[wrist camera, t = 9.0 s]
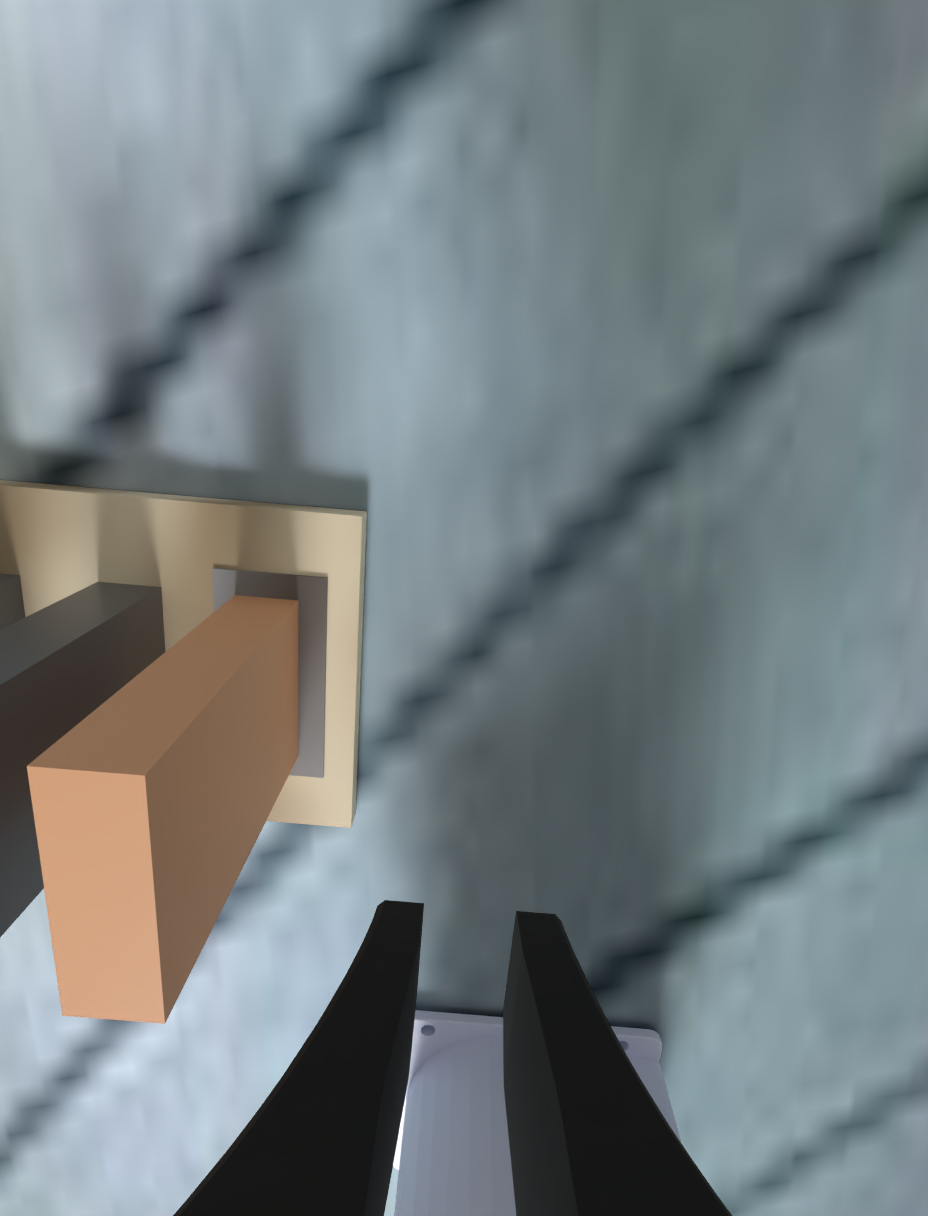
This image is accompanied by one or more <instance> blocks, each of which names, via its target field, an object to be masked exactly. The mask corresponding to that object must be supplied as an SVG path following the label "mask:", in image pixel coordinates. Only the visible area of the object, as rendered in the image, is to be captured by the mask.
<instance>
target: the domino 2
mask: <svg viewBox="0 0 928 1216" xmlns="http://www.w3.org/2000/svg"><path fill="white" fill-rule="evenodd" d="M297 758H298V600H288V599H275V598H263V597H251V596H238V595H234V596H233V597H232V598H231V599H229V600H228V601H227V602H226V603H225V604H223V605H222V606H221V607H220V608H218V609H217V610H216V611H215V612H214V613H212V614H211V615H210V616H209V617H207V618H206V619H205V620H204V621H203V622H201V623H200V624H199V625H198V626H197V627H195V628H194V629H193V630H192V631H190V632H189V633H188V634H187V635H186V636H184V637H183V638H182V639H181V640H180V641H178V642H177V643H176V644H175V645H173V646H172V647H171V648H170V649H169V650H167V651H166V652H165V653H164V654H162V655H161V656H160V657H159V658H158V659H156V660H155V661H154V662H153V663H152V664H150V665H149V666H148V667H147V668H145V669H144V670H143V671H142V672H141V673H139V674H138V675H137V676H136V677H135V678H133V679H132V680H131V681H130V682H128V683H127V684H126V685H125V686H124V687H122V688H121V689H120V690H119V691H118V692H116V693H115V694H114V695H113V696H111V697H110V698H109V699H108V700H107V701H105V702H104V703H103V704H102V705H100V706H99V707H98V708H97V709H96V710H94V711H93V712H92V713H91V714H90V715H88V716H87V717H86V718H85V719H83V720H82V721H81V722H80V723H79V724H77V725H76V726H75V727H74V728H73V729H71V730H70V731H69V732H68V733H66V734H65V735H64V736H63V737H62V738H60V739H59V740H58V741H57V742H55V743H54V744H53V745H52V746H51V747H49V748H48V749H47V750H46V751H45V752H43V753H42V754H41V755H40V756H38V757H37V758H36V759H35V760H34V761H32V762H31V763H30V764H29V765H28V766H27V771H28V778H29V785H30V792H31V799H32V806H33V813H34V820H35V827H36V834H37V841H38V848H39V855H40V862H41V869H42V876H43V883H44V890H45V897H46V904H47V911H48V918H49V925H50V932H51V939H52V946H53V953H54V960H55V967H56V974H57V981H58V988H59V995H60V1002H61V1009H62V1016H75V1017H88V1018H100V1019H113V1020H126V1021H138V1022H151V1023H164V1024H165V1022H166V1020H167V1018H168V1016H169V1014H170V1012H171V1010H172V1008H173V1006H174V1004H175V1002H176V1000H177V998H178V996H179V994H180V992H181V990H182V988H183V986H184V984H185V982H186V980H187V978H188V976H189V974H190V972H191V970H192V968H193V966H194V964H195V962H196V960H197V958H198V956H199V954H200V952H201V950H202V948H203V946H204V944H205V942H206V940H207V938H208V936H209V934H210V932H211V930H212V928H213V926H214V924H215V922H216V920H217V918H218V916H219V914H220V912H221V910H222V908H223V906H224V904H225V902H226V900H227V898H228V896H229V894H230V892H231V890H232V888H233V886H234V884H235V882H236V880H237V878H238V876H239V874H240V872H241V870H242V868H243V866H244V864H245V862H246V860H247V858H248V856H249V854H250V852H251V850H252V848H253V846H254V844H255V842H256V840H257V838H258V836H259V834H260V832H261V830H262V828H263V826H264V824H265V822H266V820H267V818H268V816H269V814H270V812H271V810H272V808H273V806H274V804H275V802H276V800H277V798H278V796H279V794H280V792H281V790H282V788H283V786H284V784H285V782H286V780H287V778H288V776H289V774H290V772H291V770H292V768H293V766H294V764H295V762H296V760H297Z"/></svg>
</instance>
